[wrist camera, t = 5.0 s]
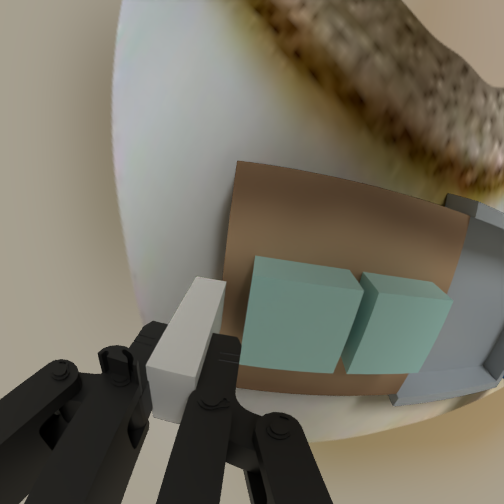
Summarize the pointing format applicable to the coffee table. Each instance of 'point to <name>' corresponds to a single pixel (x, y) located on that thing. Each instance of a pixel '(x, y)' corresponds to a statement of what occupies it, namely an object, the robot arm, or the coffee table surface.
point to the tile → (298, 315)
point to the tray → (467, 316)
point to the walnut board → (330, 253)
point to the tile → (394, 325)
